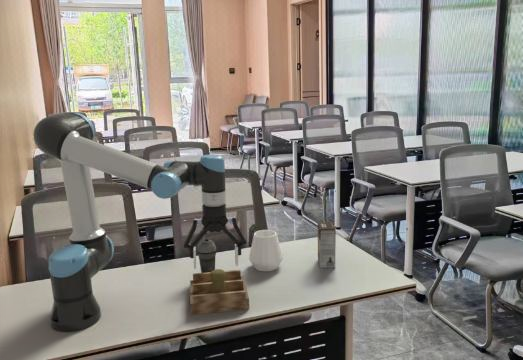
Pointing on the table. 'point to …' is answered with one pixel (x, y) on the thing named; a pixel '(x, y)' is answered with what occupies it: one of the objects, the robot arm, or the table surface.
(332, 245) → the coffee box
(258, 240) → the cup
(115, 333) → the table surface
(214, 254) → the beverage cup
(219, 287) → the olive green pawn
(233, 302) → the rack
